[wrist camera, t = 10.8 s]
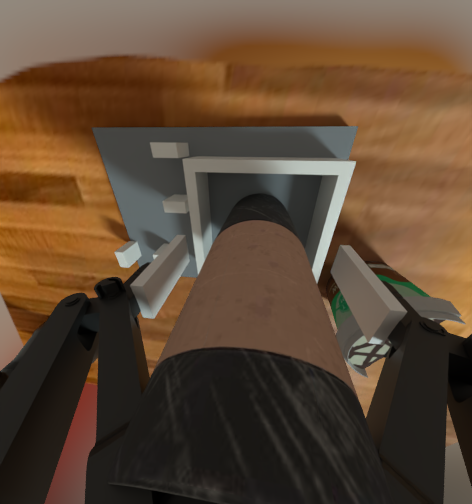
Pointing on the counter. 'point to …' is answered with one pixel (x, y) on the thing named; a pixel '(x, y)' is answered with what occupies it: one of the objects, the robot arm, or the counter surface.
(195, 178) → the end holder
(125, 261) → the clips
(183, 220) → the grey fixture board
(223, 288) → the travel mug
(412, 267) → the counter surface
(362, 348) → the food container
